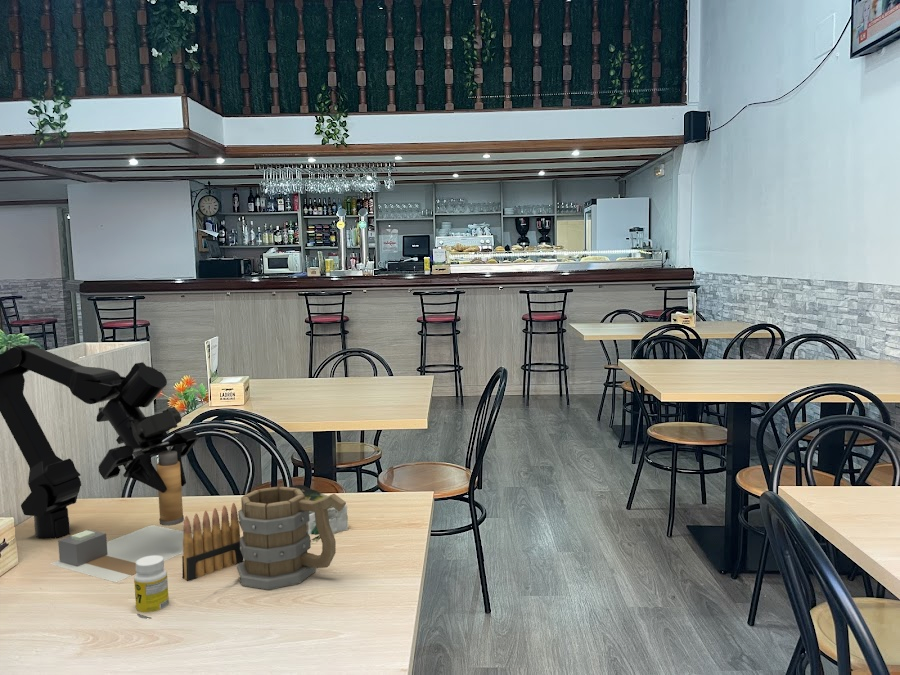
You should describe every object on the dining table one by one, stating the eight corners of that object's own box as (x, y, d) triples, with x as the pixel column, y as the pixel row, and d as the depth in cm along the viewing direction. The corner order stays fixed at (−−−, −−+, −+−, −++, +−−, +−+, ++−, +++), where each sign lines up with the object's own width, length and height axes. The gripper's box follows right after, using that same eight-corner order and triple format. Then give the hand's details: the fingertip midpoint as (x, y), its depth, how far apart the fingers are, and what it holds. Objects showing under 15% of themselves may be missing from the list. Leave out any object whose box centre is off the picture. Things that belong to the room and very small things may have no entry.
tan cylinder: (154, 523, 132) (150, 454, 131) (173, 516, 136) (169, 449, 135) (170, 527, 130) (166, 456, 129) (188, 519, 134) (184, 451, 133)
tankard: (223, 583, 122) (218, 497, 121) (267, 555, 134) (263, 476, 132) (326, 600, 115) (322, 508, 113) (363, 569, 127) (360, 485, 125)
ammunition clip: (187, 588, 120) (183, 518, 119) (182, 585, 122) (178, 516, 120) (244, 568, 128) (241, 502, 127) (238, 565, 129) (235, 500, 128)
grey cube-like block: (59, 561, 130) (57, 537, 129) (89, 550, 135) (88, 526, 135) (77, 566, 127) (75, 541, 127) (107, 554, 133) (105, 530, 132)
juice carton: (353, 530, 146) (352, 501, 146) (311, 544, 140) (309, 513, 139) (304, 508, 161) (302, 482, 161) (263, 520, 155) (261, 492, 154)
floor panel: (49, 570, 129) (49, 564, 129) (152, 530, 148) (151, 524, 148) (116, 589, 120) (116, 582, 120) (215, 544, 140) (215, 538, 140)
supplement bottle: (134, 609, 113) (131, 558, 112) (166, 602, 115) (163, 551, 114) (138, 622, 109) (134, 568, 108) (171, 614, 111) (168, 561, 110)
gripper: (104, 404, 125) (152, 474, 121) (189, 388, 141) (233, 448, 137) (78, 445, 129) (123, 513, 125) (163, 424, 146) (206, 484, 141)
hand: (174, 487), depth 132 cm, fingers closed on tan cylinder, 4 cm apart
